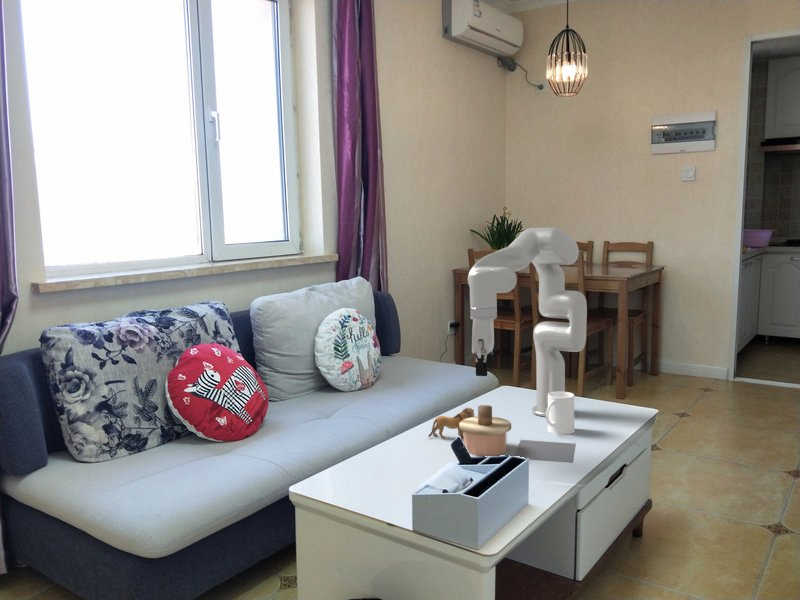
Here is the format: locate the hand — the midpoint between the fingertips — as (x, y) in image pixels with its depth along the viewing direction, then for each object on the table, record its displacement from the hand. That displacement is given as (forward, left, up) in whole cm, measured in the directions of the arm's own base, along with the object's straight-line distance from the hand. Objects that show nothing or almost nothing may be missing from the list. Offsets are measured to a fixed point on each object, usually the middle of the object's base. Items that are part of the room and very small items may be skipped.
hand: (484, 371), depth 194 cm
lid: (0, 0, -16) cm, 16 cm away
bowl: (0, 0, -23) cm, 23 cm away
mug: (-21, +19, -24) cm, 37 cm away
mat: (-2, +17, -23) cm, 29 cm away
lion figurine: (-10, -12, -24) cm, 28 cm away
